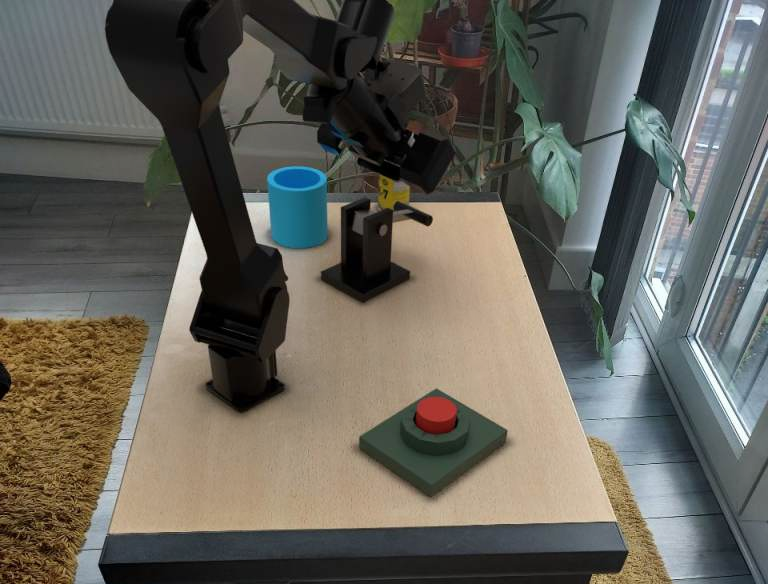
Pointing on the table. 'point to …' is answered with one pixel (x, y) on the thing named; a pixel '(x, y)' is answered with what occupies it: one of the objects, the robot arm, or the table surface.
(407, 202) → the supplement bottle
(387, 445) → the switch
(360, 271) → the lever bracket
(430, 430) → the button
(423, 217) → the lever
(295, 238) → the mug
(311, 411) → the table surface
